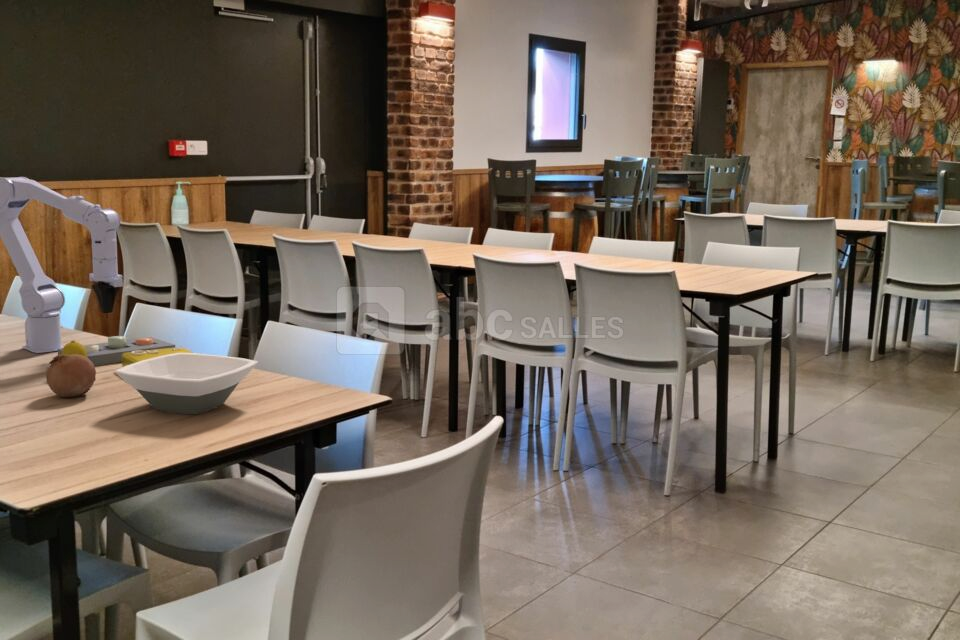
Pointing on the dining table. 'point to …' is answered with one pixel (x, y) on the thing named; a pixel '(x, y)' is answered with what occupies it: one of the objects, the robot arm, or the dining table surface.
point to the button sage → (116, 342)
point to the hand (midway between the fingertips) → (107, 312)
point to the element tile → (149, 354)
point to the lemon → (74, 349)
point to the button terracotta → (143, 341)
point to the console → (121, 351)
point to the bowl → (186, 380)
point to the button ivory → (91, 348)
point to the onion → (70, 375)
